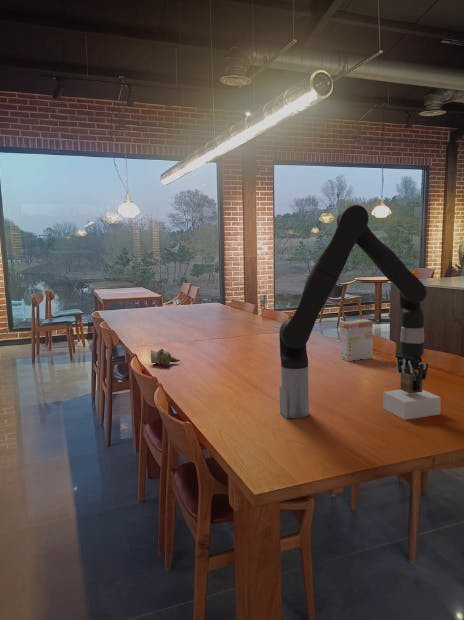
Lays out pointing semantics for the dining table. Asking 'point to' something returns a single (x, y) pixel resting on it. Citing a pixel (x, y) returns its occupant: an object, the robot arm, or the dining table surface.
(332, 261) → the robot arm
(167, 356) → the ceramic sculpture
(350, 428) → the dining table surface
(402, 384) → the walnut block
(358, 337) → the coffeecake box
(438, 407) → the block
